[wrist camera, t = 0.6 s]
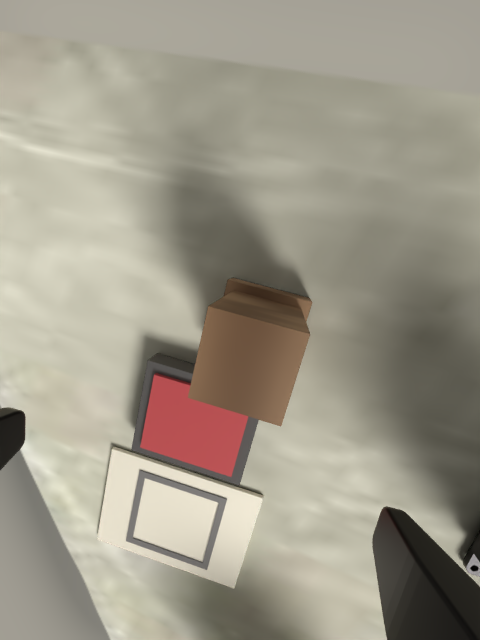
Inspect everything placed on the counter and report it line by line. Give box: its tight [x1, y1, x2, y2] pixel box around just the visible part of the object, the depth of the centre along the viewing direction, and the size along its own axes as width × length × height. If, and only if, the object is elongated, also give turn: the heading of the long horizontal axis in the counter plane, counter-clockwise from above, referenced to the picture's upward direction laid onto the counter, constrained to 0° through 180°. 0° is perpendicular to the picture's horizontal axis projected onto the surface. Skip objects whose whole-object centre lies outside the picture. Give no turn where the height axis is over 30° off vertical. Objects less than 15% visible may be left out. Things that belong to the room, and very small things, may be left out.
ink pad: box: [131, 353, 259, 485], centre depth 20 cm, size 8×7×2 cm
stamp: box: [188, 278, 312, 426], centre depth 16 cm, size 5×5×8 cm
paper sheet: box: [97, 447, 263, 589], centre depth 23 cm, size 12×9×1 cm
